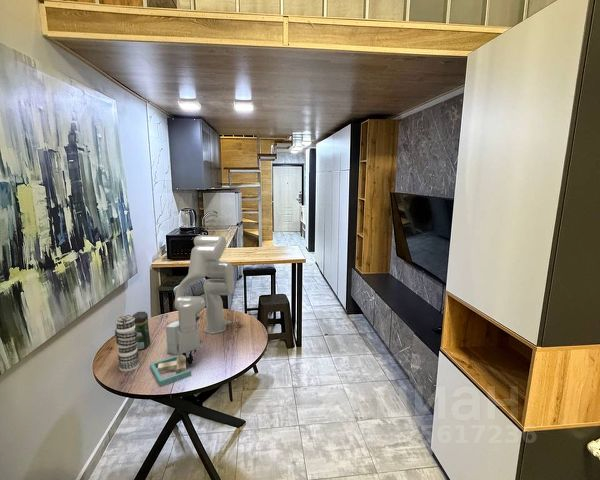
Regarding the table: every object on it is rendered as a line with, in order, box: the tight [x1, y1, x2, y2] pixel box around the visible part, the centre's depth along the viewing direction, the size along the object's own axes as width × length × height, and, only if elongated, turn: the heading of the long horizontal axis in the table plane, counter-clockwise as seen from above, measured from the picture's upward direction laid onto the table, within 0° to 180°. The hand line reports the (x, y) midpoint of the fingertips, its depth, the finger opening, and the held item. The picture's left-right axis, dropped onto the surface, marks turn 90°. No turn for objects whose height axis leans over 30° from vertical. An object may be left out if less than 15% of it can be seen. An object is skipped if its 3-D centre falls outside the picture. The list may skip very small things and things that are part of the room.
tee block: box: [157, 355, 187, 375], centre depth 151 cm, size 12×12×3 cm
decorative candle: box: [114, 314, 140, 372], centre depth 152 cm, size 9×9×25 cm
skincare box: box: [165, 320, 179, 355], centre depth 168 cm, size 8×6×15 cm
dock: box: [149, 354, 192, 387], centre depth 149 cm, size 14×17×2 cm
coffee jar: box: [131, 311, 151, 351], centre depth 172 cm, size 10×8×19 cm
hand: (189, 363), depth 154 cm, fingers closed
